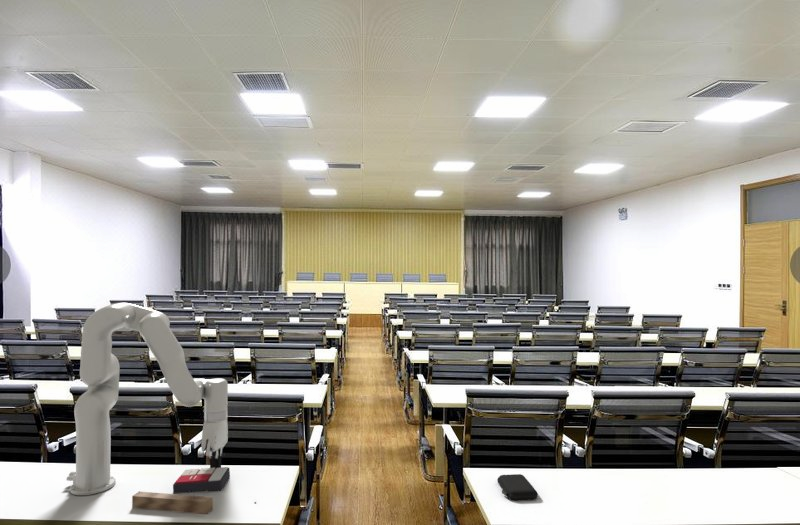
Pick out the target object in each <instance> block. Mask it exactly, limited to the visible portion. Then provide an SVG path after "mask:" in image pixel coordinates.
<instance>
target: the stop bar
mask: <svg viewBox="0 0 800 525" xmlns="http://www.w3.org/2000/svg"><path fill="white" fill-rule="evenodd" d="M131 497H132V499H131V500H132V502H131V503H132V507H131V508H133V509H142V510H153V511H165V512H180V513H189V514H191V513H192V514H202V515H208V514H209V513H210V512H211V511H212V510H214V508H213V503H214V498H213V496H202V495H201V496H200V495H187V494H179V493H163V492H149V491H137V492H135V494H133V495H132V496H131Z"/></svg>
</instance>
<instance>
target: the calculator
mask: <svg viewBox="0 0 800 525" xmlns="http://www.w3.org/2000/svg"><path fill="white" fill-rule="evenodd" d="M230 472H231V471H230V467H228V466H224V467H222V466H221V468H216V469H215V467H214V468H210V467H204V468H193V469H190V468H189V469H185V470H184V471H183V472H182V473H181V474H180V476H179V477H178V478H177V479H176V480H175V482H174V483H173V484H172V487H173V488H172V489H173V490H172V494H182V493H183V494H185V493H187V494H188V493H199V492H200V493H202V492H203V493H204V492H207V493H209V492H210V493H212V492H222V491H223V490H224V488H225V486H226V485H227V483H228V481H229V480H228V479H230V478H231V475H230V474H231V473H230ZM229 477H230V478H229ZM226 482H227V483H226ZM225 484H226V485H225Z"/></svg>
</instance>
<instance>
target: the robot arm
mask: <svg viewBox="0 0 800 525" xmlns="http://www.w3.org/2000/svg"><path fill="white" fill-rule="evenodd" d="M170 322H171V321H170V319H169V316H168V315H167V314H166V313H163V312H162V311H158V310H154V309H150V308H147V307H143V306H139V305H136V304H132V303H128V302H116V303H113V304H109V305H106V306H103V307H101V308H99V309H98V310H97V309H96V311H94V312H92V313H91V314H90V315H89V316H88V318H86V320H85V321H84V325H83V327H82V334H81V349H80V363H79V364H80V367H79V377H80V380H81V381H82V383H83V384H84V385H87V390H86V391H85V392H84V393H82V394H81V395H80V396H79V397H78V399H77V400H76V401H75V405H74V408H73V409H74V410H73V412H74V413H73V414H74V420H75V421H74V422H75V445H76V446H75V447H76V448H75V449H76V450H75V471H70V472H69V474H68V475H67V477H66V481H70V482H71V481H72V485H71V486H70V487H69V493H70V494H71V495H74V496H89V495H95V494H99V493H102V492H105V491H107V490H109V489H111V488H113V487H114V486H115V484H116V477H114V476H111V445H112V444H111V442H112V441H111V440H112V438H111V436H112V435H111V420H110V410H111V409H112V408H113V407H114V406H115V405H116V403H117V402H118V398H119V392H120V391H119V389H120V368H121V366H120V362H119V359H118V358H117V357H116V355H114V353H112V347H113V338H112V335H113V333H114V332H115V331H118V330H122V329H123V328H125V329H129V330H133V331H135V332H139V334H140V335H141V337H142V339H143V340H144V342H145V344H146V345H147V348H148V349H149V350H150V352H151V353H152V354H153V356H154V358H155V360H156V361H157V363H158V365H159V368H160V371H161V372H162V374H163V377H164V379H165V382H166V383H167V386H168V387H169V390H170V391H171V393H172V394H173V395H174V397H175V398H176V400H177V401H178V403H179V404H180V405H182V406H184V407H186V408H187V407H188V408H193V407H195V406H196V405H198V404H199V403H200V402H201V400H202V399H203V400H204V411H203V412H204V417H203V418H204V419H203V426H202V432H201V433H202V434H201V451H202V452H205V456H206V457H209V468H214V467H215V469H216V468H221V467H222V456H223V455H222V454H223V449H224V447H225V445H226V444H228V439H229V431H228V430H229V427H228V425H229V424H228V405H229V404H228V398H229V397H228V394H229V392H228V391H229V390H228V387H229V384H228V383H229V382H228V381H227V379H225V378H221V377H220V378H219V377H217V378H211V379H210V378H209V379H205V378H195V377H194V378H193V376H192V374H191V373H190V371H189V368H188V365H187V363H186V358H185V351H184V349H183V347H182V345H181V344H180V342H179V340H178V339H177V338H176V336H175V335H174V332H173V331H172V329H171V328H170V325H171V323H170Z"/></svg>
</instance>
